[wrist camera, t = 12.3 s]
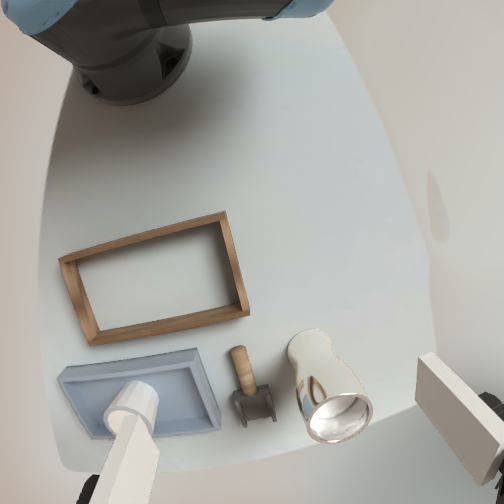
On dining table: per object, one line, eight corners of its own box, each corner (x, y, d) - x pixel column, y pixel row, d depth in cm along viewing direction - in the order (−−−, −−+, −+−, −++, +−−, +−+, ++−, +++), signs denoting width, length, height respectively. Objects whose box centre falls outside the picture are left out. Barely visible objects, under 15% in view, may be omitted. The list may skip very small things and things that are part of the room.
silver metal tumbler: (275, 362, 41) (291, 438, 26) (298, 318, 40) (328, 384, 25) (319, 376, 42) (350, 449, 27) (343, 334, 41) (388, 399, 26)
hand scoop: (219, 349, 40) (219, 357, 38) (256, 341, 40) (257, 349, 38) (243, 419, 43) (243, 427, 41) (275, 412, 43) (276, 421, 41)
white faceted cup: (110, 380, 40) (93, 408, 33) (151, 373, 40) (138, 403, 33) (130, 416, 41) (118, 445, 34) (170, 410, 41) (162, 442, 34)
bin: (66, 366, 40) (56, 378, 37) (196, 347, 40) (193, 360, 37) (98, 425, 42) (91, 439, 39) (221, 414, 42) (220, 430, 39)
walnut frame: (69, 253, 37) (57, 258, 34) (225, 210, 37) (224, 212, 34) (97, 336, 39) (89, 346, 36) (249, 306, 39) (250, 315, 36)
